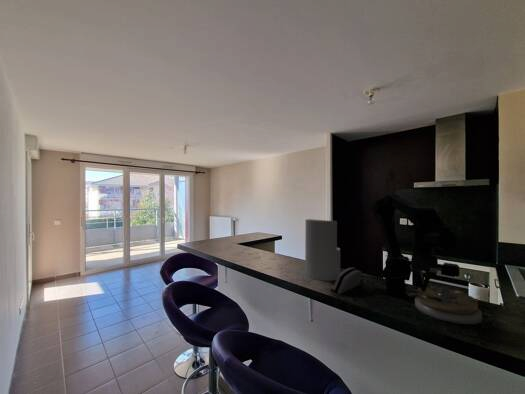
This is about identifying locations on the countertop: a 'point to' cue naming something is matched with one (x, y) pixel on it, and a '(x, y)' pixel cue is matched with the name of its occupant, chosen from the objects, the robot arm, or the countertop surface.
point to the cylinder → (321, 250)
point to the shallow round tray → (448, 300)
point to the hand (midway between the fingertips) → (423, 291)
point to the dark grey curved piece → (347, 280)
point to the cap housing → (449, 314)
